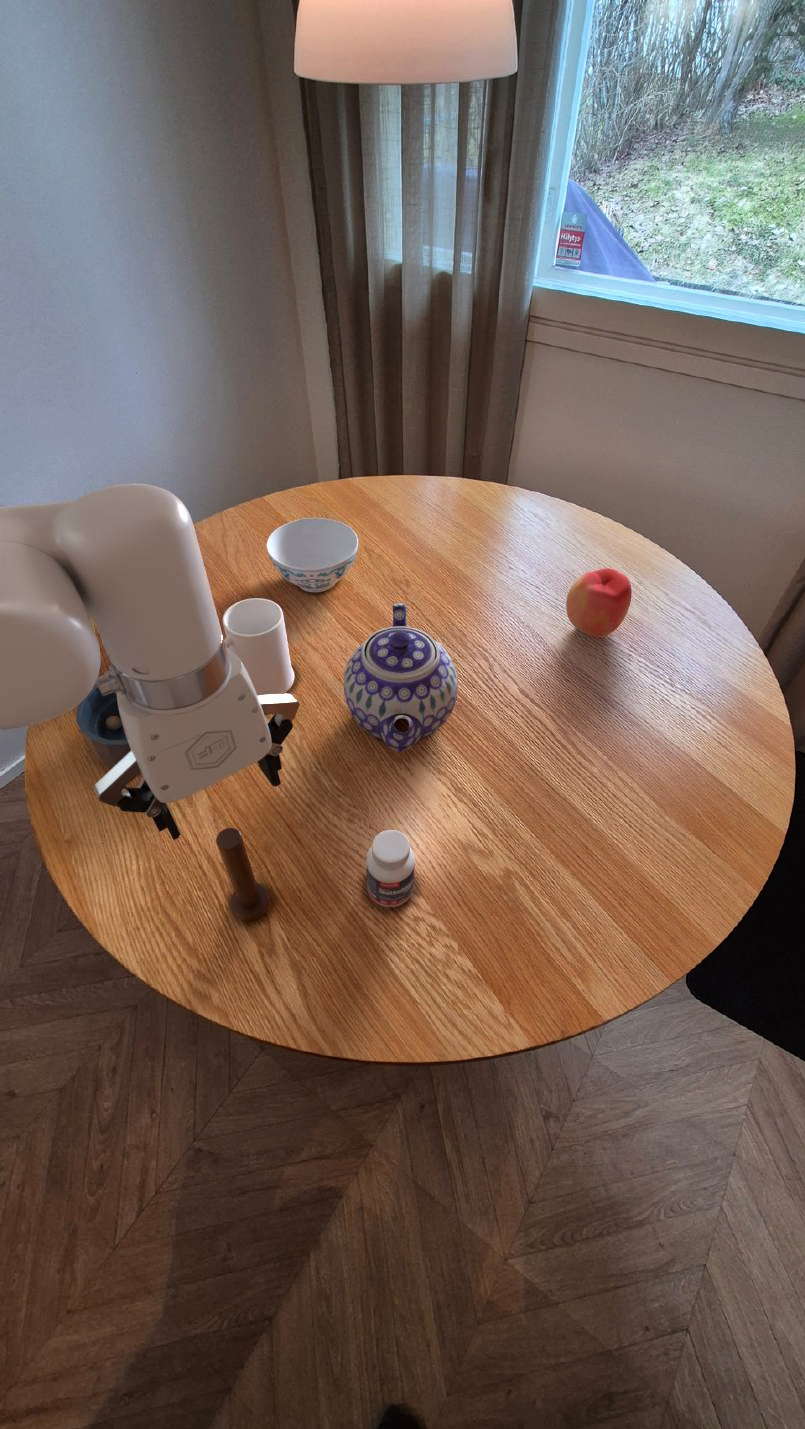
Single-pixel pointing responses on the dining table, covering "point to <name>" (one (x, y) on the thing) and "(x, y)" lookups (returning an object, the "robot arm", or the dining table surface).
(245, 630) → the mug
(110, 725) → the bead
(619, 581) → the apple
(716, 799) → the dining table surface
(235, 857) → the rod
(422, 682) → the teapot
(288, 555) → the chinaware
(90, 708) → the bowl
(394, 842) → the pill bottle
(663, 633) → the dining table surface
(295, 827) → the dining table surface
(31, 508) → the robot arm
